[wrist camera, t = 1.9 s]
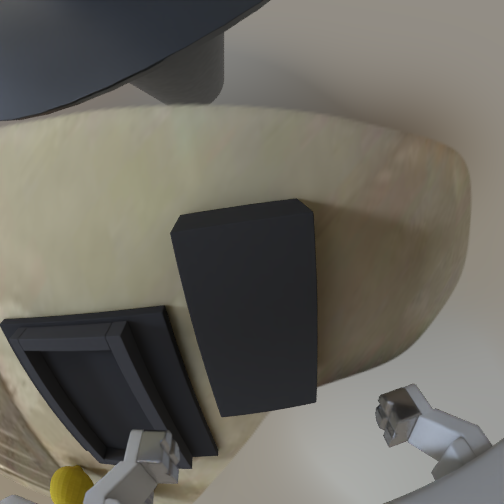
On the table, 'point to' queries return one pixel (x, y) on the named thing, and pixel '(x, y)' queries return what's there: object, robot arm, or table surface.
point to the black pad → (252, 302)
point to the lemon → (69, 485)
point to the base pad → (112, 379)
